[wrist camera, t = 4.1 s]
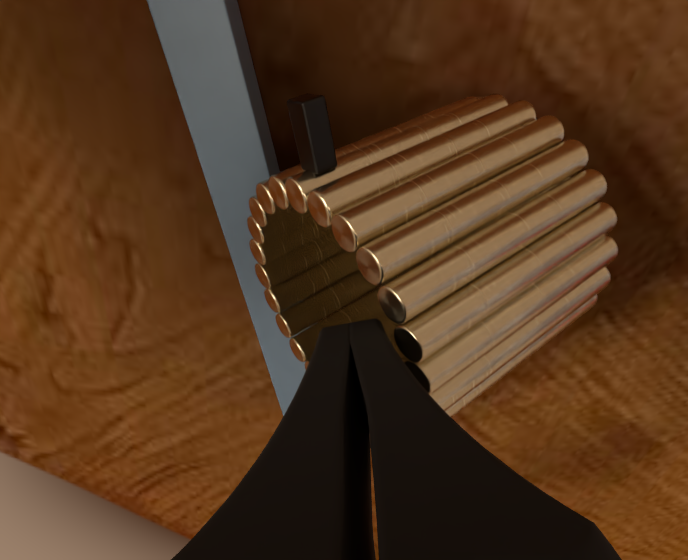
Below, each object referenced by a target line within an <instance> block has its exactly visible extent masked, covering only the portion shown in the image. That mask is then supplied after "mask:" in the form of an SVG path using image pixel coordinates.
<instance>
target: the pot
mask: <svg viewBox="0 0 688 560" xmlns="http://www.w3.org/2000/svg"><path fill="white" fill-rule="evenodd" d="M287 106H288V110H289V115H290V119H291V124H292V128H293V132H294V137H295V141H296V146H297V150H298V155H299V159H300V163H301V164H299V165H296V166H294V167H291V168H289V169H286V170H284V171H281V172H279V173H276V174H274V175H272V176H271V177H270V178H269V179H266V180H264V181H261V182H259V183H258V184H257V185H256V194H257V195H254V196H252V197H251V198H250V199H249V208H250V211H251V214H252V215H250V216H249V217H248V218H247V225H248V229H249V231H250V233H251V235H252V237H253V238H251V240H250V241H249V246H250V250H251V252H252V255H253V256H254V258H255V259H256V261H257V262H258V263H256V264H255V272H256V275H257V277H258V279H259V281H260V282H261V284H262V285H263V286H264V287H265V288H266V289H265V290H264V295H265V299H266V301H267V303H268V305H269V307H270V308H271V309H272V310H273V311H274V312H275V313H277V314H276V316H275V319H276V323H277V325H278V328H279V329H280V331H281V332H282V334H283V335H284V336H285V337H287V338H291V337H292V338H291V339H290V340H289V344H290V348H291V350H292V352H293V354H294V355H295V357H296V358H297V359H298V360H299V361H301V362H305V361H306V362H305V364H304V365H305V369H307V367H308V364H309V362H310V359H311V357H312V354H313V351H314V348H315V345H316V342H317V339H318V335H319V332H320V331H321V330H322V328H323V327H329V326H335V325H340V324H346V323H352V322H358V321H363V320H369V319H375V318H376V319H378V320H380V321H381V322H382V325H383V328H384V330H385V332H386V334H387V336H388V338H389V340H390V342H391V343H392V345H393V347H394V348H395V350H396V351H397V353H398V355H399V356H400V357H401V359H402V360H403V362H404V363H405V364H406V366H407V367H408V369H409V370H410V371H411V373H412V374H413V375H414V377H415V378H416V379H417V380H418V382H419V383H420V384H421V385H422V387H423V388H424V389H425V390H426V391H427V392H428V393H429V395H430V396H431V397H432V398H433V399H434V400H435V401H436V402H437V404H438V405H439V406H440V407H441V408H442V409H443V410H444V411H445V412H446V413H447V414H448V415H449V416H450V417H453V416H454V415H455V414H456V413H458V412H459V411H460V410H462V409H463V408H464V407H465V406H467V405H468V404H469V403H471V402H472V401H473V400H474V399H476V398H477V397H478V396H479V395H481V394H482V393H483V392H485V391H486V390H487V389H488V388H490V387H491V386H492V385H493V384H495V383H496V382H497V381H499V380H500V379H501V378H502V377H504V376H505V375H506V374H507V373H509V372H510V371H511V370H513V369H514V368H515V367H516V366H518V365H519V364H520V363H521V362H523V361H524V360H525V359H527V358H528V357H529V356H530V355H532V354H533V353H534V352H535V351H537V350H538V349H539V348H541V347H542V346H543V345H544V344H546V343H547V342H548V341H549V340H551V339H552V338H553V337H555V336H556V335H557V334H558V333H560V332H561V331H562V330H563V329H565V328H566V327H567V326H569V325H570V324H571V323H572V322H574V321H575V320H576V319H578V318H579V317H580V316H581V315H583V314H584V313H585V312H586V311H588V310H589V309H590V308H592V307H593V306H594V305H595V304H596V301H597V294H598V293H599V292H600V291H602V290H603V289H604V288H605V287H607V286H608V285H609V283H610V279H611V276H610V272H609V270H608V269H607V267H606V266H607V265H608V264H609V263H611V262H612V261H613V260H615V258H616V257H617V254H618V247H617V244H616V242H615V241H614V239H613V238H612V237H610V236H609V235H607V233H608V232H610V231H611V230H613V229H614V227H615V226H616V223H617V215H616V212H615V210H614V209H613V208H612V207H611V206H610V205H609V204H607V203H605V202H597V201H598V200H600V199H601V198H603V196H604V195H605V193H606V190H607V183H606V180H605V178H604V176H603V175H602V174H601V173H600V172H598V171H596V170H593V169H585V170H583V169H584V168H585V166H586V165H587V162H588V158H589V155H588V151H587V149H586V147H585V146H584V144H583V143H581V142H580V141H578V140H573V139H569V140H566V141H564V142H562V140H563V138H564V127H563V125H562V123H561V122H560V120H558V119H557V118H556V117H553V116H543V117H541V118H539V119H537V115H536V111H535V109H534V107H533V106H532V105H531V104H530V103H529V102H527V101H523V100H520V101H516V102H514V103H512V104H508V102H507V100H506V99H505V98H504V97H503V96H502V95H499V94H492V95H489V96H487V97H484V98H482V99H478V98H476V97H473V96H469V97H466V98H464V99H461V100H459V101H456V102H454V103H451V104H449V105H446V106H444V107H441V108H439V109H436V110H434V111H431V112H429V113H426V114H424V115H421V116H419V117H416V118H414V119H411V120H409V121H406V122H404V123H401V124H399V125H396V126H394V127H391V128H389V129H386V130H384V131H381V132H379V133H376V134H374V135H371V136H369V137H366V138H364V139H361V140H359V141H356V142H354V143H351V144H349V145H346V146H344V147H341V148H339V149H336V150H335V149H334V143H333V138H332V133H331V128H330V122H329V117H328V112H327V106H326V101H325V97H324V96H323V95H314V94H304V95H301V96H298V97H295V98H292V99H289V100H288V101H287ZM536 119H537V120H536ZM561 142H562V143H561ZM581 170H582V171H581ZM579 171H580V172H579ZM578 172H579V173H578ZM576 173H577V174H576ZM574 174H575V175H574ZM572 175H573V176H572ZM571 176H572V177H571ZM437 253H438V254H437ZM435 254H436V255H435ZM430 257H431V258H430ZM428 258H429V259H428ZM423 261H424V262H423ZM416 265H417V266H416ZM409 269H410V270H409ZM402 273H403V274H402ZM397 276H398V277H397ZM395 277H396V278H395ZM390 280H391V281H390ZM388 281H389V282H388ZM383 284H384V285H383ZM381 285H382V286H381ZM378 287H379V288H378ZM376 288H377V289H376ZM374 289H375V290H374ZM371 291H372V292H371ZM369 292H370V293H369ZM366 294H367V295H366ZM364 295H365V296H364ZM362 296H363V297H362ZM359 298H360V299H359ZM357 299H358V300H357ZM355 300H356V301H355ZM352 302H353V303H352ZM350 303H351V304H350ZM348 304H349V305H348ZM345 306H346V307H345ZM343 307H344V308H343ZM341 308H342V309H341ZM338 310H339V311H338ZM336 311H337V312H336ZM334 312H335V313H334ZM331 314H332V315H331ZM329 315H330V316H329ZM327 316H328V317H327ZM324 318H325V319H324ZM322 319H323V320H322ZM320 320H321V321H320ZM319 321H320V322H319ZM317 322H318V323H317ZM315 323H316V324H315ZM312 325H313V326H312ZM310 326H311V327H310ZM308 327H309V328H308ZM305 329H306V330H305ZM303 330H304V331H303ZM301 331H302V332H301ZM298 333H299V334H298ZM296 334H297V335H296ZM294 335H295V336H294ZM369 434H370V433H369ZM370 448H371V443H370Z"/></svg>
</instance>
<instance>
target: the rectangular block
mask: <svg viewBox="0 0 688 560" xmlns="http://www.w3.org/2000/svg"><path fill="white" fill-rule="evenodd" d="M147 3H148V6H149V9H150V12H151V15H152V18H153V21H154V24H155V27H156V30H157V33H158V36H159V39H160V42H161V45H162V48H163V51H164V54H165V57H166V60H167V63H168V66H169V69H170V72H171V75H172V78H173V82H174V85H175V88H176V91H177V94H178V97H179V100H180V103H181V106H182V109H183V112H184V115H185V118H186V121H187V124H188V127H189V130H190V133H191V136H192V139H193V142H194V145H195V148H196V151H197V154H198V158H199V161H200V164H201V167H202V170H203V173H204V176H205V179H206V182H207V185H208V188H209V191H210V194H211V197H212V200H213V203H214V206H215V209H216V212H217V215H218V218H219V221H220V224H221V227H222V230H223V234H224V237H225V240H226V243H227V246H228V249H229V252H230V255H231V258H232V261H233V264H234V267H235V270H236V273H237V276H238V279H239V282H240V285H241V288H242V291H243V294H244V297H245V300H246V303H247V306H248V310H249V313H250V316H251V319H252V322H253V325H254V328H255V331H256V334H257V337H258V340H259V343H260V346H261V349H262V352H263V355H264V358H265V361H266V364H267V367H268V370H269V373H270V376H271V379H272V382H273V385H274V389H275V392H276V395H277V398H278V401H279V404H280V407H281V410H282V413H283V416H284V414H285V413H286V411H287V409H288V407H289V405H290V403H291V401H292V399H293V398H294V396H295V393H296V391H297V389H298V387H299V385H300V383H301V380H302V378H303V376H304V374H305V371H306V369H305V365H304V364H305V362H306V361H305V362H301V361H299V360H298V359H297V358H296V357H295V355H294V354H293V352H292V350H291V348H290V344H289V340H290V339H291V338H292V337H291V338H287V337H285V336H284V335H283V334H282V332H281V331H280V329H279V328H278V325H277V323H276V319H275V316H276V314H277V313H275V312H274V311H273V310H272V309H271V308H270V307H269V305H268V303H267V301H266V299H265V295H264V290H265V289H266V288H265V287H264V286H263V285H262V284H261V282H260V281H259V279H258V277H257V275H256V272H255V264H256V263H258V262H257V261H256V259H255V258H254V256H253V255H252V252H251V250H250V246H249V241H250V240H251V238H253V237H252V235H251V233H250V231H249V229H248V225H247V218H248V217H249V216H250V215H252V214H251V211H250V208H249V199H250V198H251V197H252V196H254V195H257V194H256V185H257V184H258V183H259V182H261V181H264V180H266V179H269V178H270V177H271V176H272V175H274V174H276V173H279V172H280V170H279V166H278V162H277V158H276V154H275V150H274V146H273V142H272V138H271V134H270V130H269V126H268V122H267V118H266V114H265V110H264V106H263V102H262V98H261V94H260V90H259V86H258V82H257V78H256V74H255V70H254V66H253V62H252V58H251V54H250V50H249V46H248V42H247V38H246V34H245V30H244V26H243V22H242V18H241V14H240V10H239V6H238V2H237V0H147ZM317 323H318V322H317ZM315 324H316V323H315ZM312 326H313V325H312ZM310 327H311V326H310ZM308 328H309V327H308ZM305 330H306V329H305ZM303 331H304V330H303ZM301 332H302V331H301ZM298 334H299V333H298ZM296 335H297V334H296ZM294 336H295V335H294Z"/></svg>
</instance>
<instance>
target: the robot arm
mask: <svg viewBox="0 0 688 560" xmlns="http://www.w3.org/2000/svg"><path fill="white" fill-rule="evenodd" d="M369 433H370V434H369ZM370 443H371V454H372V466H373V477H374V490H375V503H376V516H377V532H378V549H379V560H621V558H620V557H619V555H618V554H617V552H616V551H615V550H614V548H613V547H612V545H611V544H610V543H609V542H608V540H607V539H606V538H605V536H604V535H603V534H602V532H601V531H600V530H599V529H598V527H597V526H596V525H595V524H594V523H593V522H592V521H590V520H588V519H586V518H585V517H583V516H581V515H580V514H578V513H576V512H575V511H573V510H571V509H570V508H568V507H566V506H565V505H563V504H562V503H560V502H559V501H557V500H556V499H554V498H552V497H551V496H549V495H548V494H546V493H545V492H543V491H542V490H540V489H539V488H537V487H536V486H534V485H533V484H532V483H530V482H529V481H527V480H526V479H524V478H523V477H522V476H520V475H519V474H517V473H516V472H515V471H513V470H512V469H511V468H510V467H508V466H507V465H506V464H504V463H503V462H502V461H501V460H499V459H498V458H497V457H495V456H494V455H493V454H492V453H490V452H489V451H488V450H487V449H485V448H484V447H483V446H481V445H480V444H479V443H478V442H477V441H476V440H475V439H474V438H472V437H471V436H470V435H469V434H468V433H467V432H466V431H465V430H463V429H462V428H461V427H460V426H459V425H458V424H457V423H456V422H455V421H454V420H453V419H452V418H451V417H450V416H449V415H448V414H447V413H446V412H445V411H444V410H443V409H442V408H441V407H440V406H439V405H438V404H437V402H436V401H435V400H434V399H433V398H432V397H431V396H430V395H429V393H428V392H427V391H426V390H425V389H424V388H423V387H422V385H421V384H420V383H419V382H418V380H417V379H416V378H415V377H414V375H413V374H412V373H411V371H410V370H409V369H408V367H407V366H406V364H405V363H404V362H403V360H402V359H401V357H400V356H399V355H398V353H397V351H396V350H395V348H394V347H393V345H392V343H391V342H390V340H389V338H388V336H387V334H386V332H385V330H384V328H383V325H382V322H381V321H380V320H378V319H376V318H375V319H369V320H363V321H358V322H352V323H346V324H340V325H335V326H329V327H323V328H322V330H321V331H320V332H319V335H318V339H317V342H316V345H315V348H314V351H313V354H312V357H311V359H310V362H309V364H308V367H307V369H306V371H305V374H304V376H303V378H302V380H301V383H300V385H299V387H298V389H297V391H296V393H295V396H294V398H293V399H292V401H291V403H290V405H289V407H288V409H287V411H286V413H285V414H284V416H283V418H282V420H281V422H280V424H279V425H278V427H277V429H276V431H275V432H274V434H273V436H272V437H271V439H270V440H269V442H268V444H267V445H266V447H265V448H264V450H263V451H262V453H261V454H260V456H259V457H258V459H257V460H256V462H255V463H254V464H253V466H252V467H251V468H250V470H249V471H248V473H247V474H246V475H245V477H244V478H243V479H242V481H241V482H240V483H239V485H238V486H237V487H236V489H235V490H234V491H233V492H232V494H231V495H230V496H229V497H228V499H227V500H226V501H225V502H224V503H223V505H222V506H221V507H220V508H219V509H218V510H217V511H216V513H215V514H214V515H213V516H212V517H211V518H210V519H209V521H208V522H207V523H206V524H205V525H204V526H203V527H202V528H201V530H200V531H199V532H198V533H197V534H196V535H195V536H194V537H193V538H192V540H191V541H190V542H189V543H188V544H187V545H186V546H185V547H184V548H183V549H182V550H181V551H180V552H179V553H178V554H177V555H176V556H175V557H173V558H172V559H171V560H376V558H375V550H374V540H373V526H372V499H371V465H370Z"/></svg>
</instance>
